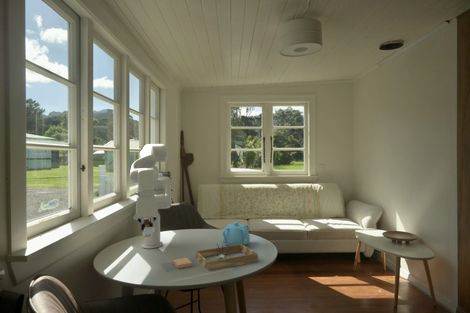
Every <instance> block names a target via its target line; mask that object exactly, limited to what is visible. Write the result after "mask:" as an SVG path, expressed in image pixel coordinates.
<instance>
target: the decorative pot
mask: <svg viewBox="0 0 470 313" xmlns="http://www.w3.org/2000/svg"><path fill="white" fill-rule="evenodd" d="M249 231H250V226H249V225H247V224H241V223H239V222H238V221H234V222H233V223H231V224H230V223H229V224H226V226H225V227H224V228H223V230H222V240H221V241H222V242H221V243H223V244H225V245H226V246H231V245H237V244H242V245H244V246H245V245H246V246H247V245H249V243H250V240H251V235H250V233H249Z"/></svg>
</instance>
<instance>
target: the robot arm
mask: <svg viewBox="0 0 470 313" xmlns="http://www.w3.org/2000/svg"><path fill="white" fill-rule="evenodd" d="M169 156H170V155H169V148H168V146H167V145H166V144H164V143H148V144H144V146H143V147H142V150H141V151H140V152H139V157H140V158H138V159H136V160H135V161H134V162H132V164H131V167H130V170H129V171H130V172H129V179H130V182H132V183H133V184H137V187H138V188H137V189H138V191H136V192H135V193H134V195H135V196H137V197H136V201H135V202H136V204H135V213H134V215H133V218H132V219H133V221H134V220H135V221H137V222H138V223H139V224H141V225H140V226H141V227H140V229H141V231H142V232H143V231H144V228H145V224H144V219H149V222H150V223H149V225H150V227H155V226H156V228H155V231H154V233H153V234H151V235H150V236H149V237H144V236H143V238H144V239H143V243H142V244H141V248H142V249H148V250H149V249H150V250H151V249H158V248H160V247H163V245H164V242H163V241H161V214H160V212H159V210H163V209H169V208H171V206H172V203H173V202H172V199H173V198H172V180H171V178H170V177H169V176H160V172H159V170H160V169H159V168H158V167H157V165H156V164H157V163H166V162H167V161H168V160H169Z"/></svg>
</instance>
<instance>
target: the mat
mask: <svg viewBox="0 0 470 313" xmlns="http://www.w3.org/2000/svg"><path fill="white" fill-rule="evenodd" d="M188 259H189V260H190V261H191V262H192V266H189V267H184V268H178V269H177V267H176V266H175V265H174V264H173V261H169V262H163V263H160V266H162V268H163V269H164V271H165V272H166V273H167V272H173V271H179V270H184V269H189V268H195V267H199V266H200V264H199V263H197V262H196V261H195V259H194V258H192V257H191V258H188Z"/></svg>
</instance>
